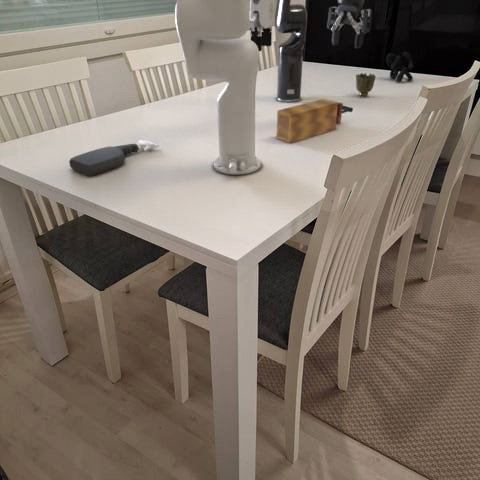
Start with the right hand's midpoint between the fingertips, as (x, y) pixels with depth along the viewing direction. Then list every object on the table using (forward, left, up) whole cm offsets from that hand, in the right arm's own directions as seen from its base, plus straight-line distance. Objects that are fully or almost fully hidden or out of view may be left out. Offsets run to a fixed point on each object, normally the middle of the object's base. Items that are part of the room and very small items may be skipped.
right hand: (346, 46), depth 136 cm
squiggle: (-60, +42, -24) cm, 77 cm away
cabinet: (+9, -12, -24) cm, 28 cm away
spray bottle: (+26, -68, -24) cm, 77 cm away
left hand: (0, -26, 0) cm, 26 cm away
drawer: (+5, -7, -23) cm, 25 cm away
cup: (-34, +18, -24) cm, 45 cm away
